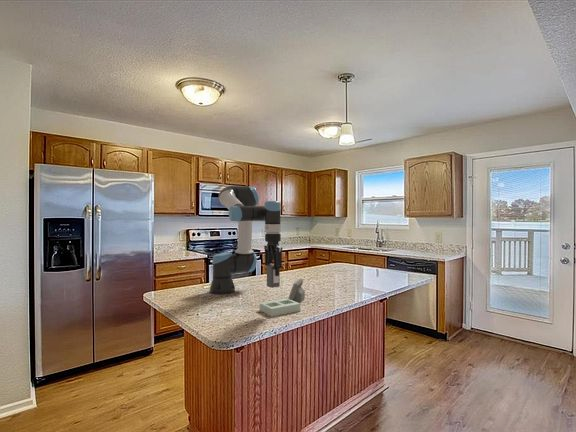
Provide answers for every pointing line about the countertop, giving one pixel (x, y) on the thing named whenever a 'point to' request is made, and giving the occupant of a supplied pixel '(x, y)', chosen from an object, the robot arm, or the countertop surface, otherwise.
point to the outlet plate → (279, 307)
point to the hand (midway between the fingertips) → (273, 281)
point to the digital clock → (297, 291)
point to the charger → (271, 277)
